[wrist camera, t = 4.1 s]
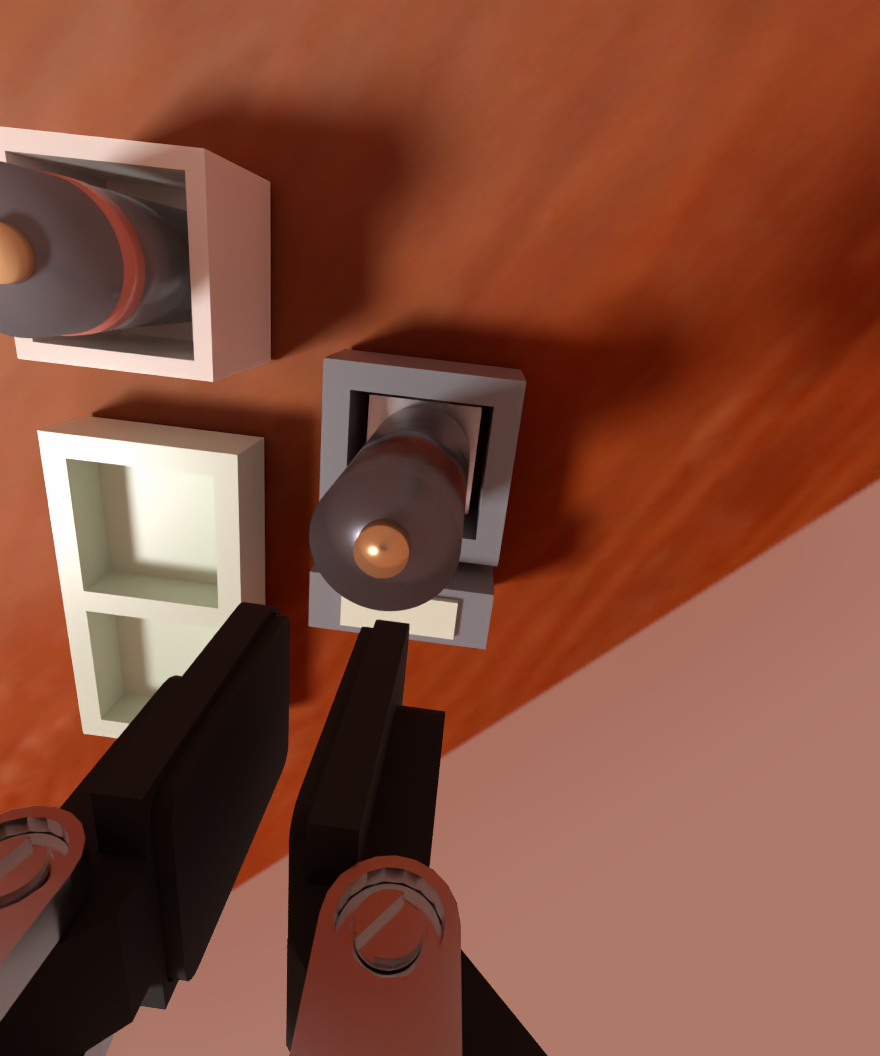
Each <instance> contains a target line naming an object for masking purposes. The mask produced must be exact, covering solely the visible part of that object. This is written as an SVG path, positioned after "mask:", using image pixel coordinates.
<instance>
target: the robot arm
mask: <svg viewBox="0 0 880 1056" xmlns="http://www.w3.org/2000/svg"><path fill="white" fill-rule="evenodd" d="M409 629H410V624H409V623H401V622H394V621H386V620H378V619H377V620H376V621H375V624H374V627H373V628H371V627H362V628H361V630H360V632H359V635H358V638H357V640H356V643H355V646H354V648H353V651H352V654H351V656H350V659H349V662H348V664H347V667H346V670H345V672H344V675H343V678H342V680H341V683H340V686H339V688H338V691H337V694H336V696H335V699H334V702H333V704H332V707H331V710H330V712H329V715H328V718H327V720H326V723H325V726H324V728H323V731H322V733H321V736H320V739H319V741H318V744H317V747H316V749H315V752H314V755H313V757H312V760H311V763H310V765H309V768H308V771H307V773H306V776H305V779H304V781H303V784H302V787H301V789H300V792H299V795H298V798H297V801H296V804H295V808H294V812H293V816H292V821H291V828H290V836H289V897H288V898H289V900H288V904H289V905H288V940H287V942H288V944H287V1028H286V1030H287V1031H286V1045H287V1047H288V1049H289V1051H290V1055H289V1056H547V1054H546V1053H545V1052H544V1051H543V1050H542V1048H541V1047H540V1046H539V1045H538V1043H537V1042H536V1041H535V1040H534V1039H533V1037H532V1036H531V1035H530V1034H529V1032H528V1031H527V1030H526V1029H525V1027H524V1026H523V1025H522V1024H521V1023H520V1022H519V1020H518V1019H517V1018H516V1016H515V1015H514V1014H513V1013H512V1011H511V1010H510V1009H509V1008H508V1006H507V1005H506V1004H505V1003H504V1002H503V1000H502V999H501V998H500V997H499V995H498V994H497V993H496V992H495V990H494V989H493V988H492V987H491V985H490V984H489V983H488V982H487V981H486V979H485V978H484V977H483V976H482V974H481V973H480V972H479V971H478V970H477V968H476V967H475V966H474V965H473V963H472V962H471V961H470V960H469V958H468V957H467V956H466V955H465V954H464V952H463V951H462V950H461V929H460V928H461V925H460V918H459V912H458V907H457V902H456V900H455V898H454V896H453V894H452V892H451V891H450V889H449V887H448V885H447V884H446V883H445V882H444V880H443V879H442V878H441V877H440V876H439V875H438V874H437V873H436V872H435V871H434V870H433V869H431V868H429V865H430V856H431V846H432V836H433V827H434V816H435V807H436V797H437V787H438V777H439V767H440V758H441V748H442V739H443V729H444V719H445V711H437V710H430V709H422V708H415V707H407V706H402V701H403V691H404V681H405V671H406V661H407V651H408V640H409ZM289 630H290V625H289V618H288V617H287V616H279V610H278V608H277V607H276V606H271V605H263V604H256V603H248V602H241V603H240V604H239V605H238V606H237V607H236V609H235V610H234V611H233V612H232V614H231V615H230V616H229V617H228V619H227V620H226V621H225V623H224V624H223V625H222V626H221V628H220V629H219V630H218V631H217V633H216V634H215V635H214V636H213V638H212V639H211V640H210V641H209V643H208V644H207V645H206V646H205V648H204V649H203V650H202V652H201V653H200V654H199V655H198V657H197V658H196V659H195V660H194V662H193V663H192V664H191V665H190V667H189V668H188V669H187V670H186V672H185V673H184V674H183V675H182V676H177V675H175V676H172V677H169V678H168V679H167V680H166V681H165V682H164V683H163V684H162V685H161V686H160V688H159V689H158V690H157V691H156V692H155V694H154V695H153V696H152V697H151V698H150V700H149V701H148V702H147V703H146V705H145V706H144V707H143V708H142V709H141V711H140V712H139V713H138V714H137V715H136V717H135V718H134V719H133V720H132V721H131V723H130V724H129V725H128V726H127V728H126V729H125V730H124V731H123V732H122V734H121V735H120V736H119V737H118V738H117V740H116V741H115V742H114V743H113V744H112V746H111V747H110V748H109V749H108V750H107V752H106V753H105V754H104V755H103V757H102V758H101V759H100V760H99V761H98V763H97V764H96V765H95V766H94V767H93V769H92V770H91V771H90V772H89V773H88V775H87V776H86V777H85V778H84V780H83V781H82V782H81V783H80V784H79V786H78V787H77V788H76V789H75V790H74V792H73V793H72V794H71V795H70V796H69V798H68V799H67V800H66V801H65V803H64V804H63V805H62V806H61V807H60V808H57V807H50V806H31V807H25V808H19V809H13V810H10V811H7V812H4V813H1V814H0V1056H106V1053H107V1051H108V1049H109V1046H110V1044H111V1041H112V1039H113V1034H114V1033H115V1032H117V1031H118V1030H120V1029H122V1028H123V1027H125V1026H126V1025H128V1024H129V1023H131V1022H132V1021H133V1019H134V1017H135V1015H136V1013H137V1011H138V1009H139V1007H140V1006H146V1007H152V1008H158V1009H166V1007H167V1005H168V1003H169V1000H170V998H171V996H172V994H173V991H174V989H175V987H176V985H177V983H178V980H185V981H189V980H191V979H192V977H193V976H194V975H195V973H196V971H197V969H198V966H199V964H200V962H201V959H202V957H203V955H204V953H205V950H206V948H207V945H208V943H209V941H210V939H211V936H212V934H213V932H214V929H215V927H216V925H217V922H218V920H219V918H220V915H221V913H222V911H223V908H224V906H225V904H226V901H227V899H228V897H229V894H230V892H231V890H232V887H233V885H234V883H235V880H236V878H237V876H238V873H239V871H240V869H241V866H242V864H243V862H244V859H245V857H246V855H247V852H248V850H249V848H250V845H251V843H252V841H253V838H254V836H255V834H256V831H257V829H258V827H259V824H260V822H261V820H262V817H263V815H264V813H265V810H266V808H267V806H268V803H269V801H270V799H271V796H272V794H273V792H274V789H275V787H276V784H277V782H278V780H279V777H280V775H281V773H282V770H283V768H284V765H285V762H286V757H287V752H288V730H289Z"/></svg>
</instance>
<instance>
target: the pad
mask: <svg viewBox="0 0 880 1056" xmlns="http://www.w3.org/2000/svg"><path fill="white" fill-rule="evenodd" d="M412 406H426V407H431V408H434V409H438V410H440V411H442V412H444V413H446V414H447V415H449V416H450V417H451V418H452V419H454V420H455V421H456V422H457V423H458V424H459V426H460V427H461V428H462V430H463V432H464V433H465V435H466V438H467V440H468V443H469V448H470V466H469V476H468V486H467V496H466V506H465V514H468V512H469V504H470V496H471V489H472V481H473V473H474V466H475V458H476V450H477V443H478V435H479V427H480V420H481V412H482V405H475V404H466V403H458V402H449V401H441V400H432V399H424V398H416V397H407V396H399V395H390V394H382V393H373V392H372V393H371V394H369V410H368V427H367V441H368V440H369V439H370V437H371V436H372V435H373V434H374V432H375V431H376V430H377V429H378V427H379V426H380V425H381V424H382V422H383V421H384V420H385V419H386V418H387V417H389V416H390V415H392V414H393V413H395V412H397V411H398V410H401V409H404V408H407V407H412Z"/></svg>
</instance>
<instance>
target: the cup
mask: <svg viewBox="0 0 880 1056" xmlns="http://www.w3.org/2000/svg"><path fill="white" fill-rule="evenodd" d="M0 333H3V334H6V335H9V336H13V337H15V344H16V350H17V356H18V359H25V360H34V361H42V362H50V363H59V364H67V365H76V366H84V367H92V368H101V369H109V370H118V371H126V372H134V373H143V374H151V375H160V376H168V377H177V378H185V379H193V380H202V381H210V382H214V381H217V380H220V379H223V378H226V377H229V376H233V375H236V374H239V373H242V372H245V371H248V370H251V369H254V368H257V367H260V366H263V365H266V364H269V363H271V233H270V181H268V180H266V179H264V178H262V177H260V176H258V175H256V174H254V173H252V172H250V171H248V170H246V169H244V168H242V167H240V166H238V165H236V164H234V163H232V162H230V161H228V160H226V159H224V158H222V157H220V156H218V155H216V154H214V153H212V152H210V151H208V150H207V149H205V148H196V147H187V146H177V145H168V144H158V143H149V142H140V141H130V140H121V139H112V138H102V137H93V136H84V135H74V134H65V133H56V132H46V131H37V130H28V129H18V128H9V127H0Z"/></svg>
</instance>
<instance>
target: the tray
mask: <svg viewBox="0 0 880 1056" xmlns="http://www.w3.org/2000/svg"><path fill="white" fill-rule="evenodd" d="M37 432H38V438H39V445H40V451H41V458H42V465H43V471H44V478H45V484H46V491H47V498H48V504H49V511H50V517H51V524H52V531H53V537H54V544H55V550H56V557H57V564H58V570H59V577H60V583H61V590H62V597H63V603H64V610H65V617H66V623H67V630H68V636H69V643H70V650H71V656H72V663H73V669H74V676H75V683H76V689H77V696H78V702H79V709H80V716H81V722H82V729H83V733H84V734H91V735H98V736H106V737H113V738H118V737H119V736H120V735H121V734H122V732H123V731H124V730H125V729H126V728H127V726H128V725H129V724H130V723H131V721H132V720H133V719H134V718H135V717H136V715H137V714H138V713H139V712H140V711H141V709H142V708H143V707H144V706H145V705H146V703H147V702H148V701H149V700H150V698H151V697H152V696H153V695H154V694H155V692H156V691H157V690H158V689H159V688H160V686H161V685H162V684H163V683H164V682H165V681H166V680H167V679H168V678H169V677H172V676H175V675H177V676H182V675H183V674H184V673H185V672H186V670H187V669H188V668H189V667H190V665H191V664H192V663H193V662H194V660H195V659H196V658H197V657H198V655H199V654H200V653H201V652H202V650H203V649H204V648H205V646H206V645H207V644H208V643H209V641H210V640H211V639H212V638H213V636H214V635H215V634H216V633H217V631H218V630H219V629H220V628H221V626H222V625H223V624H224V623H225V621H226V620H227V619H228V617H229V616H230V615H231V614H232V612H233V611H234V610H235V609H236V607H237V606H238V605H239V604H240V603H241V602H248V603H256V604H263V605H265V484H264V437H256V436H248V435H240V434H231V433H223V432H215V431H207V430H198V429H190V428H182V427H174V426H166V425H157V424H149V423H141V422H133V421H124V420H116V419H108V418H100V417H91V416H83V417H79V418H76V419H73V420H70V421H67V422H63V423H60V424H57V425H54V426H50V427H47V428H44V429H41V430H37Z"/></svg>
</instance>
